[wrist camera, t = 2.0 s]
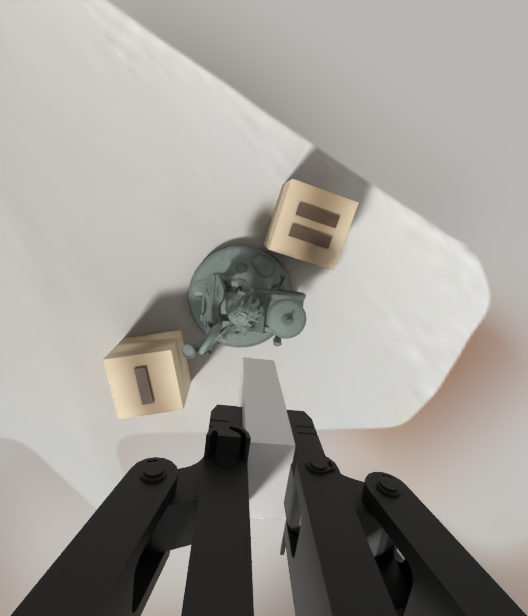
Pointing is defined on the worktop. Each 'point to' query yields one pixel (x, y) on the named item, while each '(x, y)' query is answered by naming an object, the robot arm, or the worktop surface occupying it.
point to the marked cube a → (148, 374)
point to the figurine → (242, 300)
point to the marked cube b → (310, 224)
